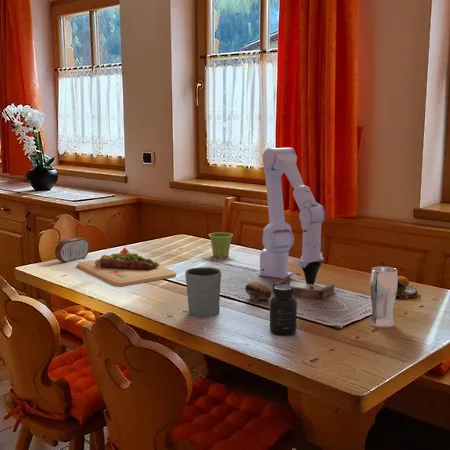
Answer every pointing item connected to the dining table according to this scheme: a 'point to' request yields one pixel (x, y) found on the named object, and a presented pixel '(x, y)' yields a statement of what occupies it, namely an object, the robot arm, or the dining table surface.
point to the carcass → (307, 290)
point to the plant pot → (220, 244)
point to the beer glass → (383, 296)
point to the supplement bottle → (283, 311)
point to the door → (306, 285)
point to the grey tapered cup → (203, 291)
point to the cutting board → (126, 269)
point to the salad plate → (405, 288)
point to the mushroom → (258, 291)
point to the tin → (72, 249)
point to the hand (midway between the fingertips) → (310, 284)
